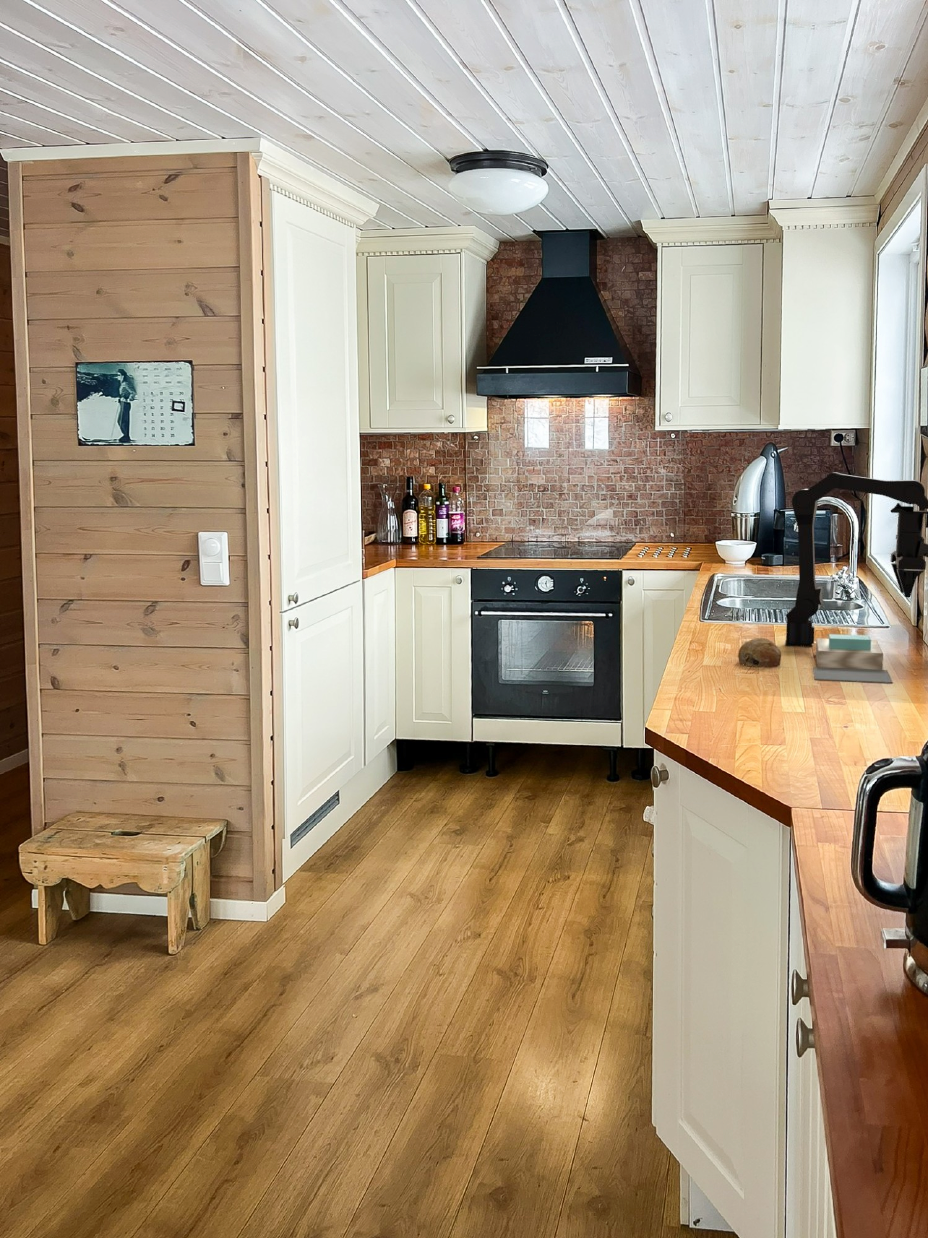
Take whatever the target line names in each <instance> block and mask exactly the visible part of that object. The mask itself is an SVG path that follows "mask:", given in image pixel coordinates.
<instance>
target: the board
mask: <svg viewBox="0 0 928 1238" xmlns="http://www.w3.org/2000/svg"><path fill="white" fill-rule="evenodd" d="M815 645H816V646H815V647H816V648H815V649H816V650H815V657H816V663H817V667H828V668H852V669H876V670H883V669H884V668H883V665H884V652H883V649H882V648H881V646H880V644H879V641H878V640H876V639H874V640H873V639H871V651H868V650H841V649H829V638H823V637H822V638H819V637H817V638H816V643H815Z"/></svg>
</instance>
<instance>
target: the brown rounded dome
mask: <svg viewBox="0 0 928 1238" xmlns="http://www.w3.org/2000/svg"><path fill="white" fill-rule="evenodd" d="M737 655H738V656H737V657H738V662H739V664H741V663H742V664H741V665H743V664H744V665H743V666H746V665H747V666H746V667H752V666H753V667H752V668H776V667H779V666H780V665H781V661H782V659H781V658H782V651H781V649H780V647H779V646H778V645H776V643H774V641H771V640H770V639H768V638H765V637H758V638H757V637H755V638H753V639H750V640H748V641H745V642H744V643H743V644H741V646H740V648H739V650H738V654H737Z"/></svg>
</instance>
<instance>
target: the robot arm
mask: <svg viewBox="0 0 928 1238" xmlns="http://www.w3.org/2000/svg"><path fill="white" fill-rule="evenodd" d="M835 489H839V490H844V491H852V492H858V493H866V494H872V495H879V496H884V497H887V498H890V499H892V500H895V501H898V502H897V503H896V505H895V506H894V507H892V508H891V509H890V513H892V514H897V515H898V517H897V532H896V534H895V540H896V545H895V550H894V551H892V552H891V553H890V563H891V564H890V565H891V567H892V571H893V573H894V576H895V579H896V583H897V584H898V588H899V590H900V593H901V594H902V593H903V595H904V597H905V598H911V596H912V592H913V590H914V587H915V583H916V580H917V577H918V576H920V575H921V574H923V573H924V572H925V570H927V561H926V560H925V559H924V557H925V558H928V542H925V538H924V536H923V527H924V525H923V524H924V515H926V516H925V517H926V518H925V529H928V498H927V496H926V488H925V486H924V484H923V483H922V482H921V481H919V480H917V479H898V480H893V479H892V480H887V479H886V480H884V479H877V478H870V477H865V476H863V477H862V476H856V475H850V474H845V473H840V472H837V471H836V472H830V473H829V474H827V476H826V477H824V478H822V479H821V480H820V481H818V482H817V483H815V484H813V486H810V487H809V488H803V489H800V490H798V491H796V492H795V493H794V494H793V496H792V498H791V504H792V510H793V515H794V517H795V521H796V526H797V536H798V537H797V538H798V539H797V541H798V542H797V543H798V571H799V572H798V575H799V577H798V578H799V582H798V585H797V589H796V590H797V591H796V597H795V598H796V599H795V601H794V602H795V604H794V606H793V607H792V608H791V609H790V610H789V611H788V612H787V613H786V615H785V617H786V625H785V627H786V629H785V630H786V631H785V632H786V633H785V642H784V643H785V644H784V645H785V647H806V648H807V647H813V645H814V642H815V626H813V620H811V619H812V617H813V616H815V614H817V612H819V610H820V608H821V606H822V605H823V603H824V597H823V589H824V586H822V585H820V586H818V584H817V580H816V566H815V565H816V563H815V562H816V561H815V555H816V554H815V529H814V526H815V522H816V521H815V520H816V515H817V511H818V510H817V509H818V502H819V500H820V499H822V498H823V497H825V496H826V495H829V494H830V493H831V492H832V491H834V490H835ZM899 502H901V503H904V504H907V505H916V506H917V507H919V508H920V509H922V510H915V507H914V506H907V505H901V504H900V503H899Z"/></svg>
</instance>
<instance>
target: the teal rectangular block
mask: <svg viewBox="0 0 928 1238" xmlns="http://www.w3.org/2000/svg"><path fill="white" fill-rule="evenodd" d="M828 639H829V649H841V650H868V651H871V640H872V639H871V637H870V635H865V634H864V635H860V634H859V635H858V634H834V633H833V634H830V633H829V634H828Z"/></svg>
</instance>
